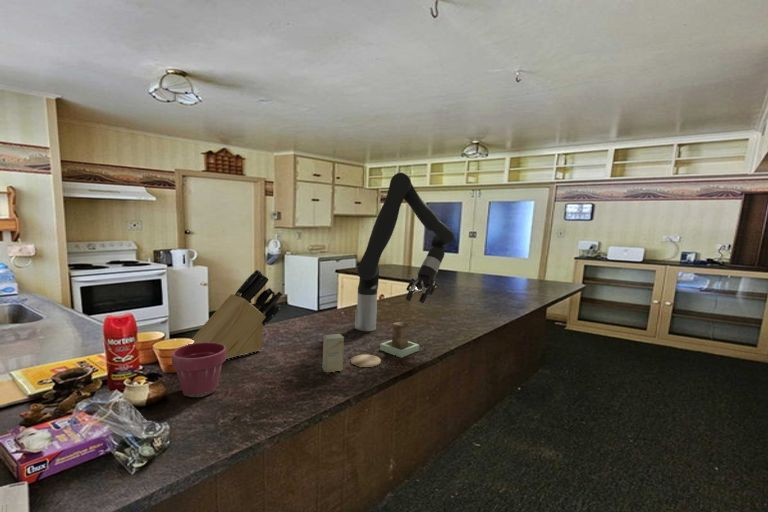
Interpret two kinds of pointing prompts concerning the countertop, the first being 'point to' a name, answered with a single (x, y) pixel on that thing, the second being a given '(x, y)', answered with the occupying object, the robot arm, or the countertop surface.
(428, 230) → the robot arm
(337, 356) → the skincare box
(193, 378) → the plant pot
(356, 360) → the coaster
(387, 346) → the holder
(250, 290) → the knife block
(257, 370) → the countertop surface
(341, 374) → the countertop surface
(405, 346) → the walnut block
